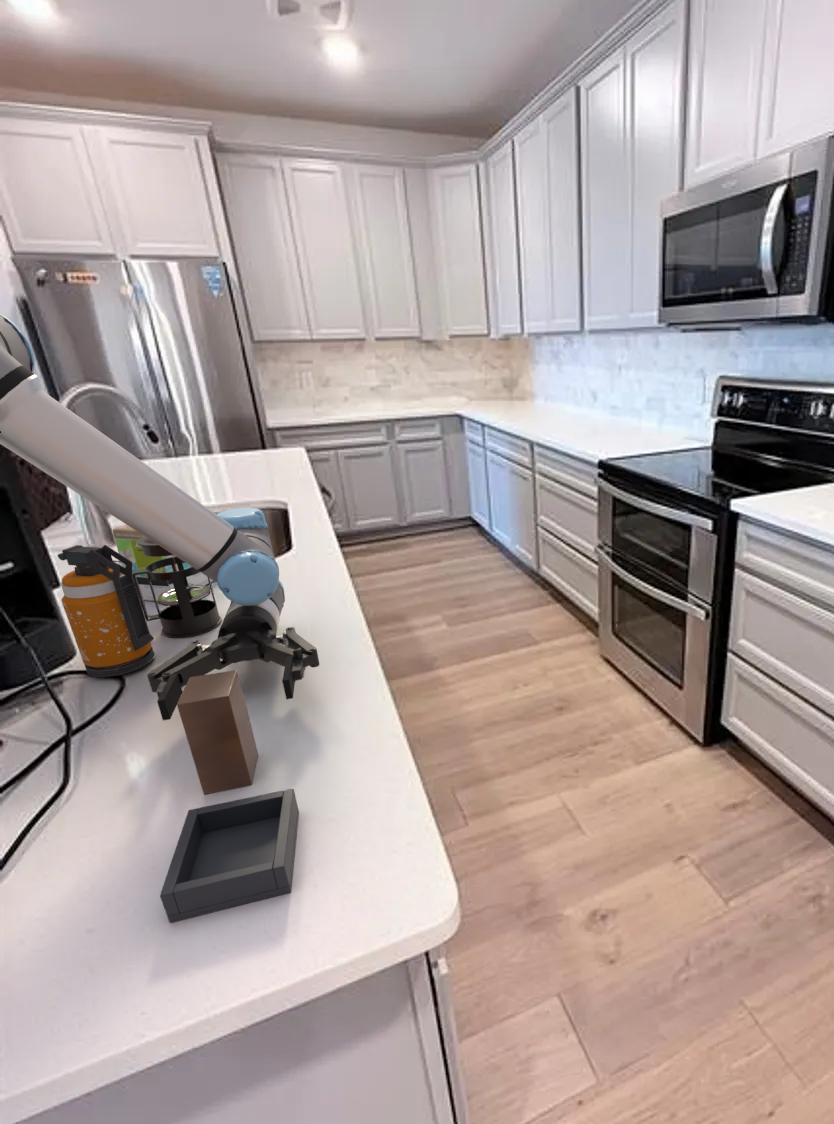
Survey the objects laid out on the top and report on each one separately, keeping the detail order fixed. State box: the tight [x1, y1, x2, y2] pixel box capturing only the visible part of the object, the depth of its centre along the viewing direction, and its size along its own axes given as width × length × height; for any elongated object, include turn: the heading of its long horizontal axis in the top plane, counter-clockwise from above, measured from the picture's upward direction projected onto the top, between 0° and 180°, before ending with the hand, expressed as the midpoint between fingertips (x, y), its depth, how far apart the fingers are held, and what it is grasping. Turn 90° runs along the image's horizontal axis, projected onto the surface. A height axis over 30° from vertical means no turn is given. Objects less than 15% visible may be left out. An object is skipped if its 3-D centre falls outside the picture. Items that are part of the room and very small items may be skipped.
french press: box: [132, 536, 223, 639], centre depth 106 cm, size 12×9×23 cm
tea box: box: [112, 524, 214, 602], centre depth 125 cm, size 15×10×15 cm, turn 170°
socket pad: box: [159, 788, 300, 923], centre depth 60 cm, size 10×11×3 cm
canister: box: [57, 544, 155, 678], centre depth 93 cm, size 9×11×20 cm
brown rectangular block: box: [176, 669, 259, 795], centre depth 70 cm, size 5×6×12 cm
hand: (227, 699), depth 74 cm, fingers open, 13 cm apart
